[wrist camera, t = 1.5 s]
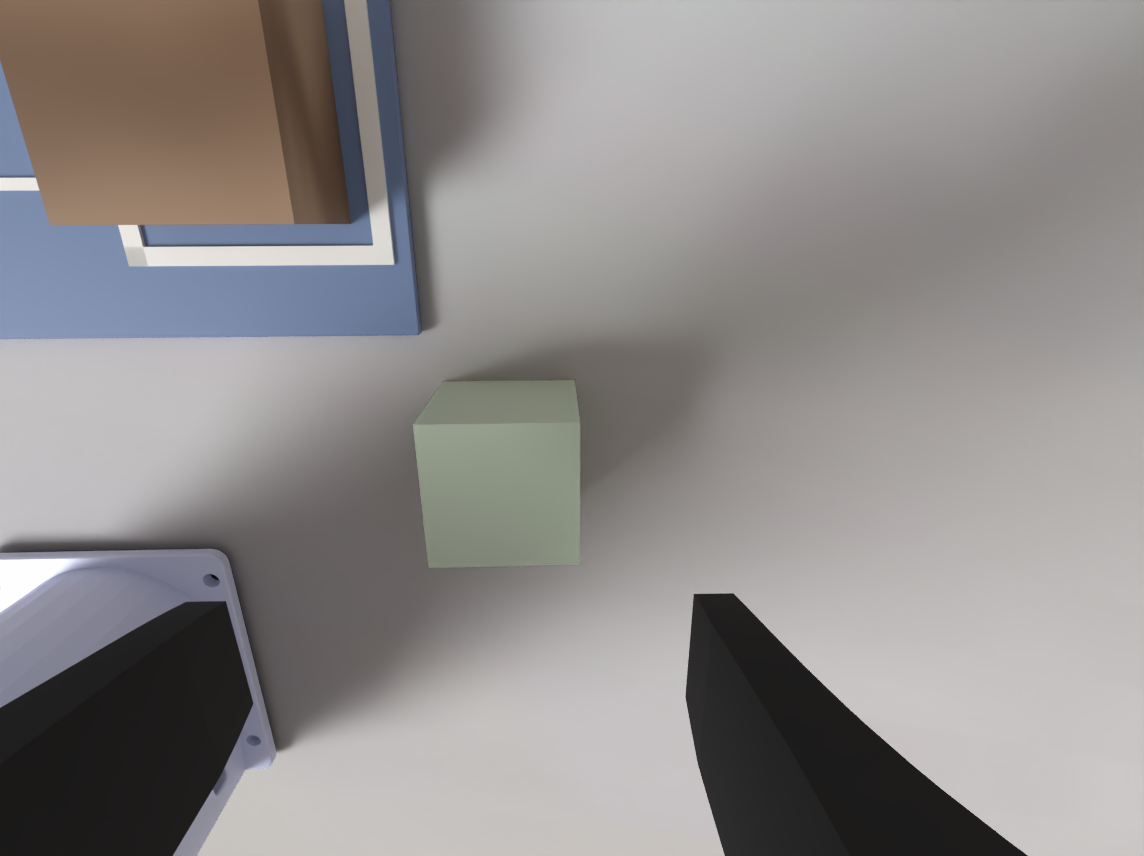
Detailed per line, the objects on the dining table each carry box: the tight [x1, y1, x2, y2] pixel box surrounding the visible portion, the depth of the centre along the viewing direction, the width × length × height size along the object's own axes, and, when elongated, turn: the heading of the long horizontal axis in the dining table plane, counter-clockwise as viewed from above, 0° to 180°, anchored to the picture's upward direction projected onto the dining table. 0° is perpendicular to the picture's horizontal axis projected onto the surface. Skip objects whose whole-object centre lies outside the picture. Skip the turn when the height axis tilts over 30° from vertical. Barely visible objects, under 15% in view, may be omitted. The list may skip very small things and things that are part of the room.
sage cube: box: [413, 380, 580, 568], centre depth 16 cm, size 4×4×4 cm
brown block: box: [0, 0, 351, 225], centre depth 12 cm, size 5×5×4 cm
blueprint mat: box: [0, 0, 422, 339], centre depth 14 cm, size 11×16×1 cm
